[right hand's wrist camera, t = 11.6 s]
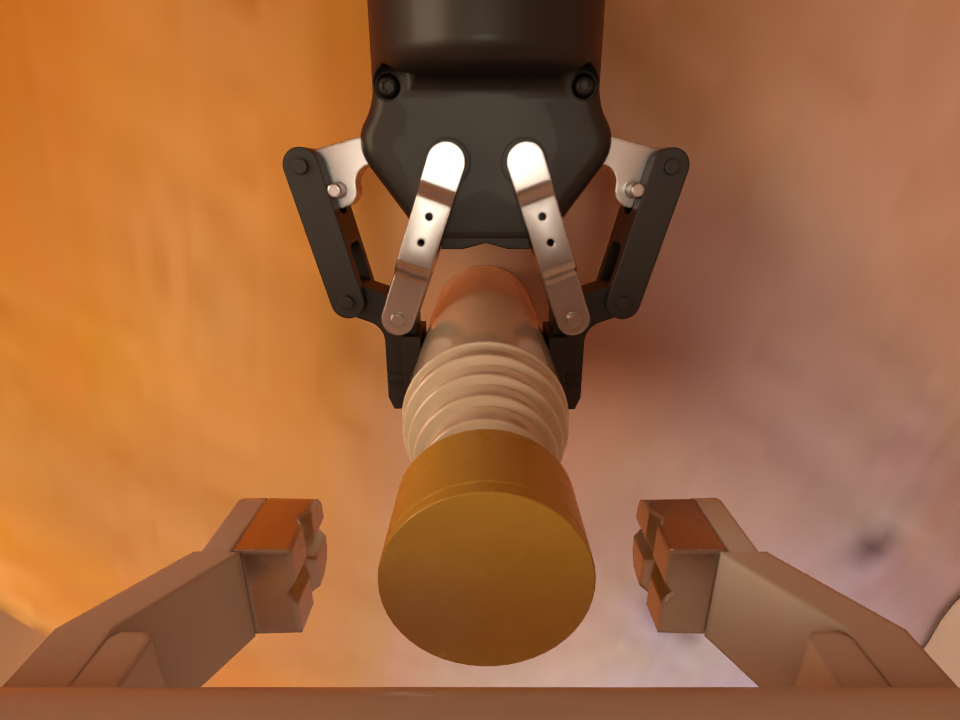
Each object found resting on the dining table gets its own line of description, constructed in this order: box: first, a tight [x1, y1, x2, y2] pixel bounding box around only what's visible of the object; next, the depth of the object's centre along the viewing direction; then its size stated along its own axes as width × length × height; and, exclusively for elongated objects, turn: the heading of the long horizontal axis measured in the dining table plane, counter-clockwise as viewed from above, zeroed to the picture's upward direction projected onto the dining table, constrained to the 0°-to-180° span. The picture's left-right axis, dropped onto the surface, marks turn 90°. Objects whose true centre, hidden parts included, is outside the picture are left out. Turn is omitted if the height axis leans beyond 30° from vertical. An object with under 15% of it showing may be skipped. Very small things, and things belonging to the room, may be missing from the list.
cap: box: [378, 429, 596, 666], centre depth 10 cm, size 4×4×2 cm
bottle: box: [402, 265, 569, 464], centre depth 18 cm, size 5×5×18 cm
